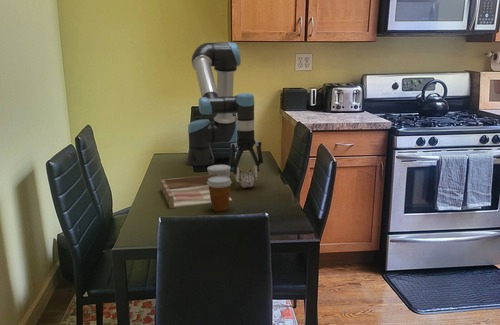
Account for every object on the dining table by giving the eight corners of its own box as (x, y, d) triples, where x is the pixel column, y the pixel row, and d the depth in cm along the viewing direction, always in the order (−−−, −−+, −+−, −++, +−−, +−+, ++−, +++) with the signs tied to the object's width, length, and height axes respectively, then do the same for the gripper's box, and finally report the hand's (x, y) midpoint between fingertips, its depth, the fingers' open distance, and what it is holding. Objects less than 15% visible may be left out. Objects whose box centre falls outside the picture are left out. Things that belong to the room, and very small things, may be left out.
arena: (161, 190, 201) (160, 179, 200) (216, 184, 209) (216, 174, 208) (170, 208, 179) (169, 196, 177) (232, 200, 187) (231, 189, 185)
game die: (249, 196, 203) (254, 183, 195) (232, 189, 203) (235, 175, 196) (256, 182, 208) (260, 169, 201) (239, 175, 209) (243, 161, 202)
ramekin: (203, 177, 221) (202, 167, 219) (221, 173, 228) (221, 163, 226) (216, 182, 212) (216, 171, 211) (235, 178, 219) (235, 167, 218)
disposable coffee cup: (203, 209, 177) (201, 180, 174) (218, 202, 184) (217, 174, 181) (222, 214, 172) (221, 184, 169) (237, 207, 179) (236, 177, 176)
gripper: (225, 132, 190) (226, 184, 195) (271, 129, 196) (271, 179, 202) (220, 129, 197) (221, 180, 202) (264, 126, 203) (265, 175, 209)
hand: (246, 179), depth 202 cm, fingers closed on game die, 8 cm apart
